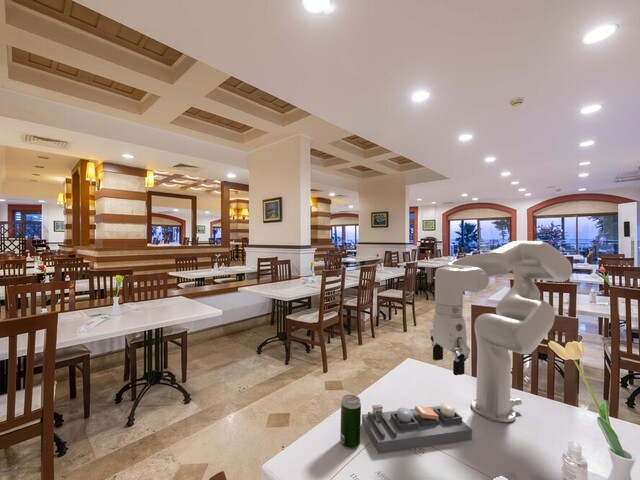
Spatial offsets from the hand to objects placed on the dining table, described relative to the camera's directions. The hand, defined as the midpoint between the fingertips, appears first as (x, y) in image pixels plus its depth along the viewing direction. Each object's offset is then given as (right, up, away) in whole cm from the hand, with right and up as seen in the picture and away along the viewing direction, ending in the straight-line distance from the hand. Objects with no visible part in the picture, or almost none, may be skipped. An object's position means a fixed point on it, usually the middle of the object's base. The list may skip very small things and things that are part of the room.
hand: (447, 366), depth 86 cm
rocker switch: (-7, -13, -2) cm, 15 cm away
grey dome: (-14, -14, -3) cm, 20 cm away
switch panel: (-10, -18, -2) cm, 21 cm away
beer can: (-30, -18, -8) cm, 36 cm away
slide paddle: (-21, -15, -2) cm, 26 cm away
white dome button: (0, -14, 0) cm, 14 cm away
